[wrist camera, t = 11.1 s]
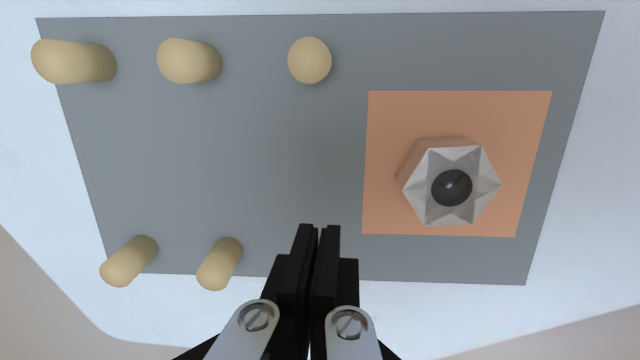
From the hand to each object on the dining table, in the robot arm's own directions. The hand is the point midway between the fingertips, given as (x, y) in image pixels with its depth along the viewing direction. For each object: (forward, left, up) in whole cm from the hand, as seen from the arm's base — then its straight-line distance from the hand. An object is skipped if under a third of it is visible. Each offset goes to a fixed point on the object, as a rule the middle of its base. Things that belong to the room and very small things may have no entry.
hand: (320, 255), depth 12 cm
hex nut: (-9, +1, -13) cm, 15 cm away
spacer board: (+2, 0, -13) cm, 13 cm away
